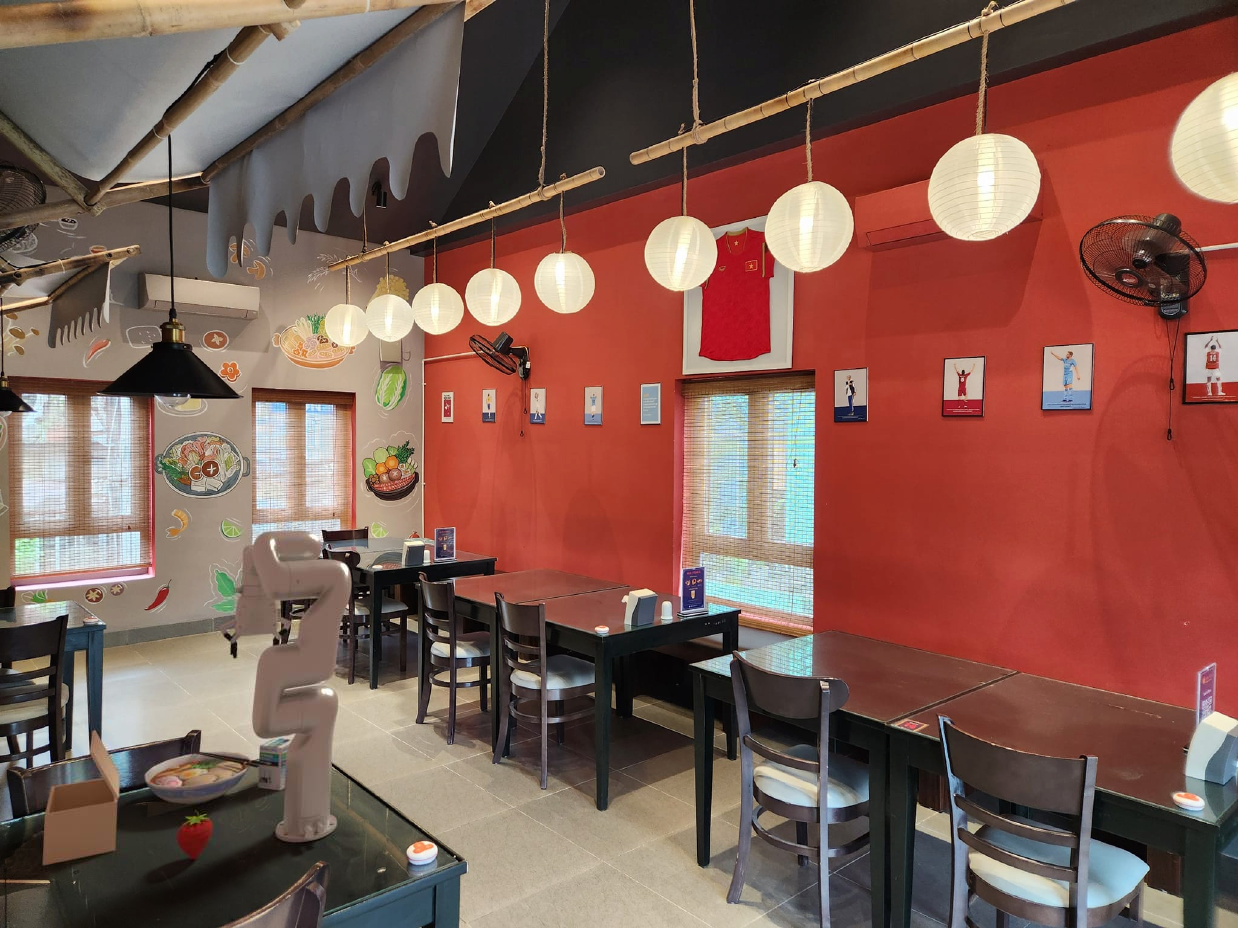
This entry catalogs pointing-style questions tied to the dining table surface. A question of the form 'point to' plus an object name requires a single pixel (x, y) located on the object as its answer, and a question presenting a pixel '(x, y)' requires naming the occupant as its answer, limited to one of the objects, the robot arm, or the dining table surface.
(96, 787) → the cardboard carton
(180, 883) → the dining table surface
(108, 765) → the carton flap
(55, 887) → the dining table surface
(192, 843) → the strawberry
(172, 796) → the ramen bowl
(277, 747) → the light bulb box
